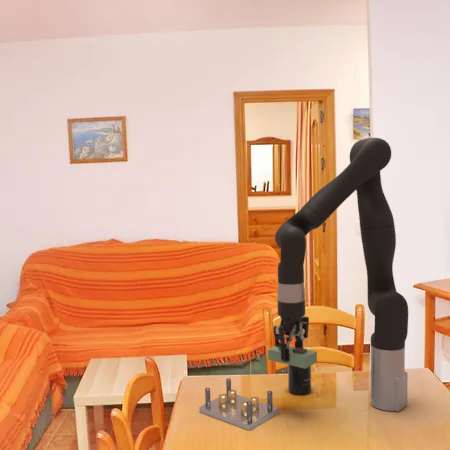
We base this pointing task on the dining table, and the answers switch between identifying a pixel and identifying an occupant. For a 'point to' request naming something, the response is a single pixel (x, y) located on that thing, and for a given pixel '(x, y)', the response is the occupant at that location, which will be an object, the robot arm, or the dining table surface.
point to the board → (294, 356)
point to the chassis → (239, 408)
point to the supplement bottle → (299, 380)
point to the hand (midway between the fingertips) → (292, 357)
